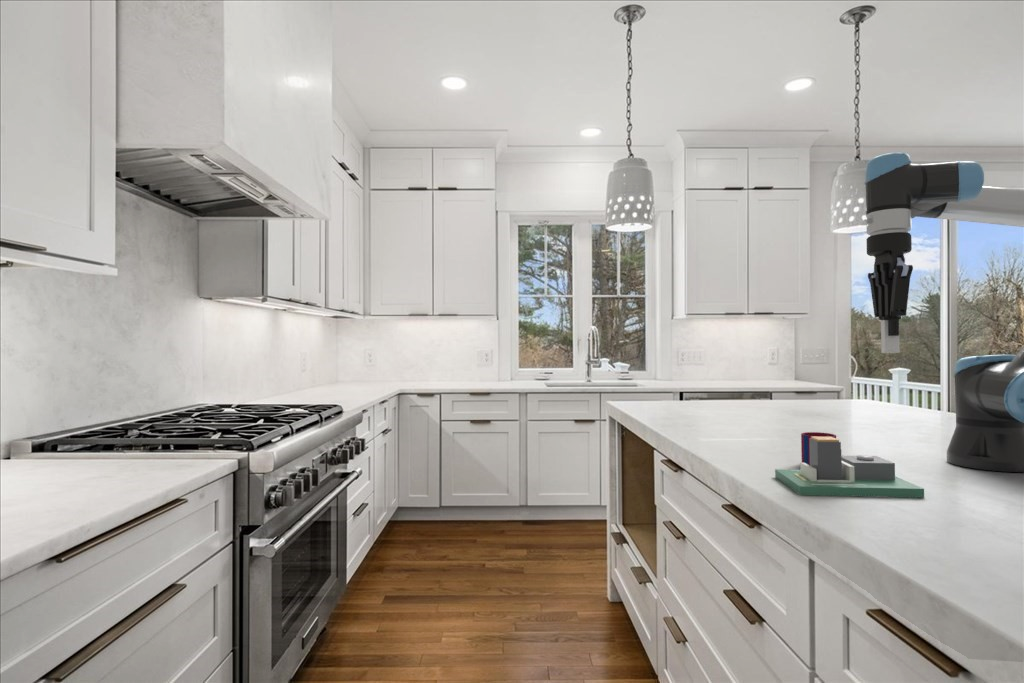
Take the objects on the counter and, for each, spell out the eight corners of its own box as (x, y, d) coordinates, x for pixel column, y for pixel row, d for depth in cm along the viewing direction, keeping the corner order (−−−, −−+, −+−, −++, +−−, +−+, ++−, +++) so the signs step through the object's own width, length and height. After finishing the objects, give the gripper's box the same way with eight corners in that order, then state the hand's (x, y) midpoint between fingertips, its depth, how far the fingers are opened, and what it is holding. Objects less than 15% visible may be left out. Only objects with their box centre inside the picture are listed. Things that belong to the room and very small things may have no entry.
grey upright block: (835, 475, 110) (834, 436, 110) (844, 480, 106) (843, 439, 106) (809, 475, 110) (809, 436, 110) (818, 480, 106) (817, 439, 106)
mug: (833, 463, 128) (833, 432, 128) (842, 473, 118) (841, 440, 118) (800, 462, 130) (799, 431, 130) (805, 471, 121) (805, 438, 121)
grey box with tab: (876, 471, 113) (876, 453, 113) (895, 479, 106) (894, 460, 106) (837, 470, 114) (837, 452, 114) (853, 479, 107) (853, 460, 107)
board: (883, 478, 113) (883, 456, 113) (924, 497, 99) (923, 472, 99) (775, 476, 116) (774, 455, 116) (799, 494, 102) (799, 470, 102)
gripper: (853, 240, 123) (855, 352, 123) (884, 228, 110) (886, 353, 110) (892, 239, 122) (894, 352, 122) (927, 227, 109) (929, 353, 109)
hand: (890, 352), depth 116 cm, fingers closed
